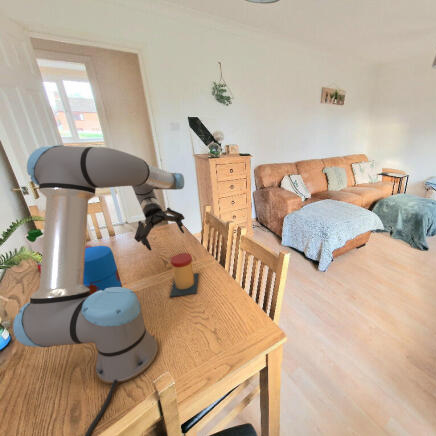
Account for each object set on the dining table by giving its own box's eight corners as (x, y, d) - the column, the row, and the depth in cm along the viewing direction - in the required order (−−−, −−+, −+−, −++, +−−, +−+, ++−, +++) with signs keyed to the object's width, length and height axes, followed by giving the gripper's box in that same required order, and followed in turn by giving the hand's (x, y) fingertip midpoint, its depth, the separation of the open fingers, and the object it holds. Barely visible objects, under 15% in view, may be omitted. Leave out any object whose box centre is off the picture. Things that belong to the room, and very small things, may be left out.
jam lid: (191, 266, 97) (190, 262, 97) (169, 268, 95) (168, 264, 94) (192, 255, 105) (192, 252, 104) (172, 257, 102) (172, 254, 102)
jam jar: (193, 287, 102) (190, 262, 97) (174, 290, 100) (169, 265, 95) (195, 277, 109) (191, 253, 104) (177, 279, 106) (172, 255, 102)
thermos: (86, 325, 82) (62, 264, 73) (98, 304, 92) (79, 247, 82) (122, 318, 86) (104, 259, 76) (131, 298, 95) (116, 244, 85)
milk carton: (36, 271, 108) (18, 232, 100) (56, 261, 116) (41, 223, 109) (53, 273, 107) (37, 234, 100) (72, 262, 116) (58, 225, 108)
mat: (196, 293, 99) (196, 292, 99) (170, 297, 97) (169, 296, 96) (198, 274, 112) (198, 273, 112) (175, 276, 109) (175, 275, 109)
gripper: (182, 202, 115) (198, 229, 103) (128, 228, 106) (139, 261, 95) (175, 191, 109) (191, 218, 97) (118, 217, 101) (128, 250, 89)
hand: (166, 239), depth 96 cm, fingers open, 13 cm apart
